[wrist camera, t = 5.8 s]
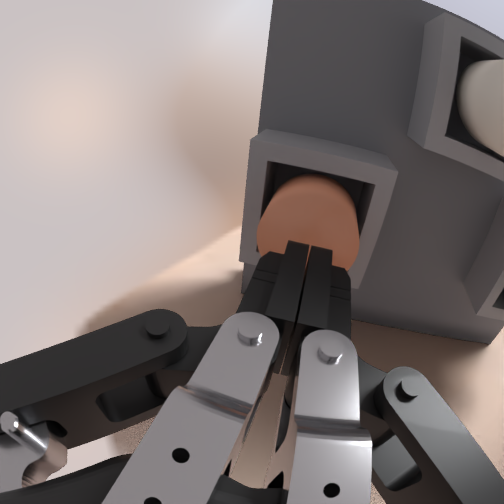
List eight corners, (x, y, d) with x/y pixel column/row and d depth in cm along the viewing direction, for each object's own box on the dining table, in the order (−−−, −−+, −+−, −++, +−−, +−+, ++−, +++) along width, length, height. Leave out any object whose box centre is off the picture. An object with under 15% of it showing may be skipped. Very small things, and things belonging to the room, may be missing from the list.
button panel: (498, 372, 14) (617, 122, 3) (227, 323, 18) (262, -51, 7) (481, 319, 19) (566, 103, 8) (252, 268, 23) (286, -12, 11)
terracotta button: (343, 293, 12) (372, 208, 10) (251, 272, 13) (262, 184, 10) (343, 261, 14) (365, 185, 12) (264, 242, 15) (275, 165, 12)
